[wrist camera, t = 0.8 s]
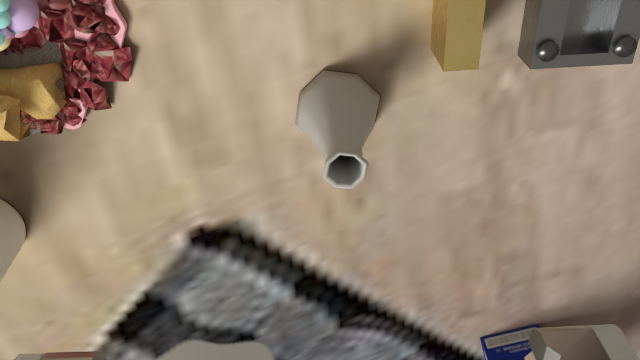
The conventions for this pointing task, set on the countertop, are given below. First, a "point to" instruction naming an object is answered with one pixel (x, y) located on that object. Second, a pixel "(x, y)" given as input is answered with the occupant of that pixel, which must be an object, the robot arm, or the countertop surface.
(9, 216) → the milk bottle
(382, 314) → the countertop surface
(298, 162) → the countertop surface
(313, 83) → the flask
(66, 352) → the robot arm
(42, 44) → the candy landscape model
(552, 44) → the link
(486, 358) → the milk carton
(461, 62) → the tall mustard post
